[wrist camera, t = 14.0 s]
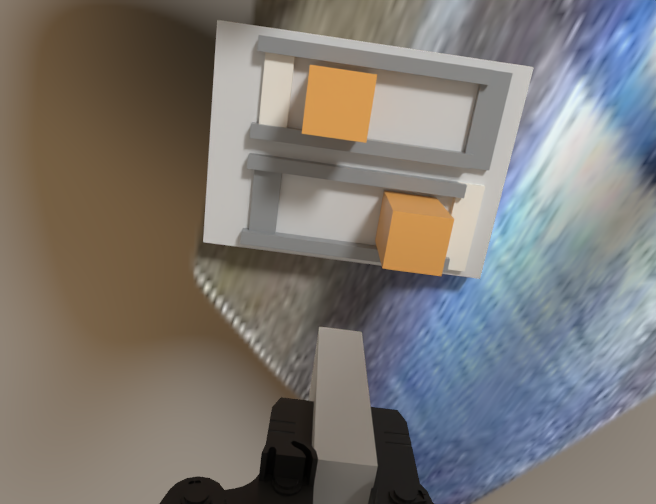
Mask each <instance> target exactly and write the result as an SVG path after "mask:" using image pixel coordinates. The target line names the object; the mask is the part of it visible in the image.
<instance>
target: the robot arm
mask: <svg viewBox="0 0 656 504" xmlns="http://www.w3.org/2000/svg"><path fill="white" fill-rule="evenodd" d="M160 504H434V503H433V502H432V500H431V498H430V496H429V494H428V492H427V491H426V490H425V489H424V487H423V486H422V485H421V484H420V482H419V478H418V473H417V468H416V464H415V459H414V454H413V450H412V447H411V441H410V437H409V431H408V427H407V422H406V421H405V419H404V418H403V417H402V416H401V414H400V413H399V412H398V410H391V409H383V408H375V407H371V406H370V398H369V389H368V381H367V373H366V364H365V356H364V348H363V339H362V332H359V331H351V330H343V329H335V328H327V327H319V332H318V339H317V345H316V352H315V359H314V366H313V372H312V379H311V386H310V393H309V401H306V400H298V399H289V398H280V399H279V400H278V401H277V402H276V404H275V405H274V406H273V407H272V412H271V417H270V423H269V430H268V435H267V441H266V445H265V447H264V449H263V451H262V456H261V465H260V473H259V475H258V476H257V478H256V479H254V480H253V481H252V482H251V483H249V484H247V485H245V486H243V487H239V488H235V489H229V490H224V489H223V488H222V487H221V485H220V484H219V483H218V482H216V481H214V480H212V479H210V478H205V477H192V478H187V479H184V480H182V481H180V482H178V483H176V484H175V485H174V486H173V487H172V488H171V489H170V490H169V491H168V493H167V494H166V495H165V497H164V498H163V500H162V501H161V502H160Z"/></svg>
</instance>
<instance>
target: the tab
mask: <svg viewBox="0 0 656 504" xmlns="http://www.w3.org/2000/svg"><path fill="white" fill-rule="evenodd" d="M453 223H454V218H453V217H452V216H451V214H450V213H449V212H448V211H447V210H446V209H445V207H444V206H443V205H442V204H441V203H440V201H439V200H438V199H437V198H435V197H428V196H421V195H414V194H406V193H399V192H392V191H385V190H384V193H383V198H382V204H381V210H380V215H379V221H378V227H377V232H376V238H375V243H376V246H377V250H378V254H379V258H380V261H381V265H382V269H390V270H397V271H405V272H412V273H420V274H427V275H435V276H442V272H443V267H444V263H445V258H446V254H447V250H448V245H449V241H450V236H451V232H452V228H453Z"/></svg>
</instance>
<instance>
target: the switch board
mask: <svg viewBox="0 0 656 504" xmlns="http://www.w3.org/2000/svg"><path fill="white" fill-rule="evenodd" d="M310 65H316V66H323V67H330V68H337V69H343V70H350V71H357V72H364V73H370V74H377V80H376V86H375V92H374V99H373V105H372V111H371V117H370V123H369V130H368V136H367V142H366V143H364V142H357V141H350V140H343V139H336V138H329V137H322V136H315V135H308V134H302V126H303V118H304V109H305V101H306V93H307V85H308V76H309V68H310ZM533 68H534V67H529V66H522V65H515V64H509V63H502V62H495V61H489V60H482V59H475V58H469V57H462V56H455V55H449V54H442V53H435V52H429V51H422V50H415V49H409V48H402V47H396V46H389V45H382V44H376V43H369V42H362V41H356V40H349V39H342V38H336V37H329V36H322V35H316V34H309V33H302V32H296V31H289V30H282V29H276V28H269V27H262V26H256V25H249V24H242V23H236V22H229V21H222V20H217V31H216V48H215V63H214V79H213V94H212V95H213V96H212V110H211V126H210V143H209V157H208V173H207V189H206V205H205V220H204V236H203V242H206V243H213V244H221V245H229V246H236V247H244V248H251V249H259V250H266V251H274V252H282V253H289V254H297V255H304V256H312V257H320V258H327V259H335V260H342V261H350V262H357V263H365V264H373V265H380V266H382V265H381V261H380V258H379V254H378V250H377V246H376V243H375V238H376V232H377V227H378V221H379V215H380V210H381V204H382V198H383V193H384V190H385V191H392V192H399V193H406V194H414V195H421V196H428V197H435V198H437V199H438V200H439V201H440V203H441V204H442V205H443V206H444V207H445V209H446V210H447V211H448V212H449V213H450V214H451V216H452V217H453V218H454V223H453V228H452V232H451V236H450V241H449V245H448V250H447V254H446V258H445V263H444V267H443V272H442V274H448V275H456V276H463V277H471V278H479V279H480V276H481V273H482V269H483V265H484V261H485V257H486V253H487V249H488V245H489V241H490V237H491V233H492V229H493V225H494V221H495V217H496V213H497V209H498V206H499V202H500V198H501V194H502V190H503V186H504V182H505V178H506V174H507V170H508V166H509V162H510V158H511V154H512V150H513V146H514V142H515V139H516V135H517V131H518V127H519V123H520V119H521V115H522V111H523V107H524V103H525V99H526V95H527V91H528V87H529V83H530V79H531V75H532V72H533Z"/></svg>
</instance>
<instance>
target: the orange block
mask: <svg viewBox="0 0 656 504" xmlns="http://www.w3.org/2000/svg"><path fill="white" fill-rule="evenodd" d="M376 80H377V74H370V73H364V72H357V71H350V70H343V69H337V68H330V67H323V66H316V65H310V68H309V76H308V85H307V93H306V101H305V109H304V118H303V126H302V134H308V135H315V136H322V137H329V138H336V139H343V140H350V141H357V142H364V143H366V142H367V136H368V130H369V123H370V117H371V111H372V105H373V99H374V92H375V86H376Z"/></svg>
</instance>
